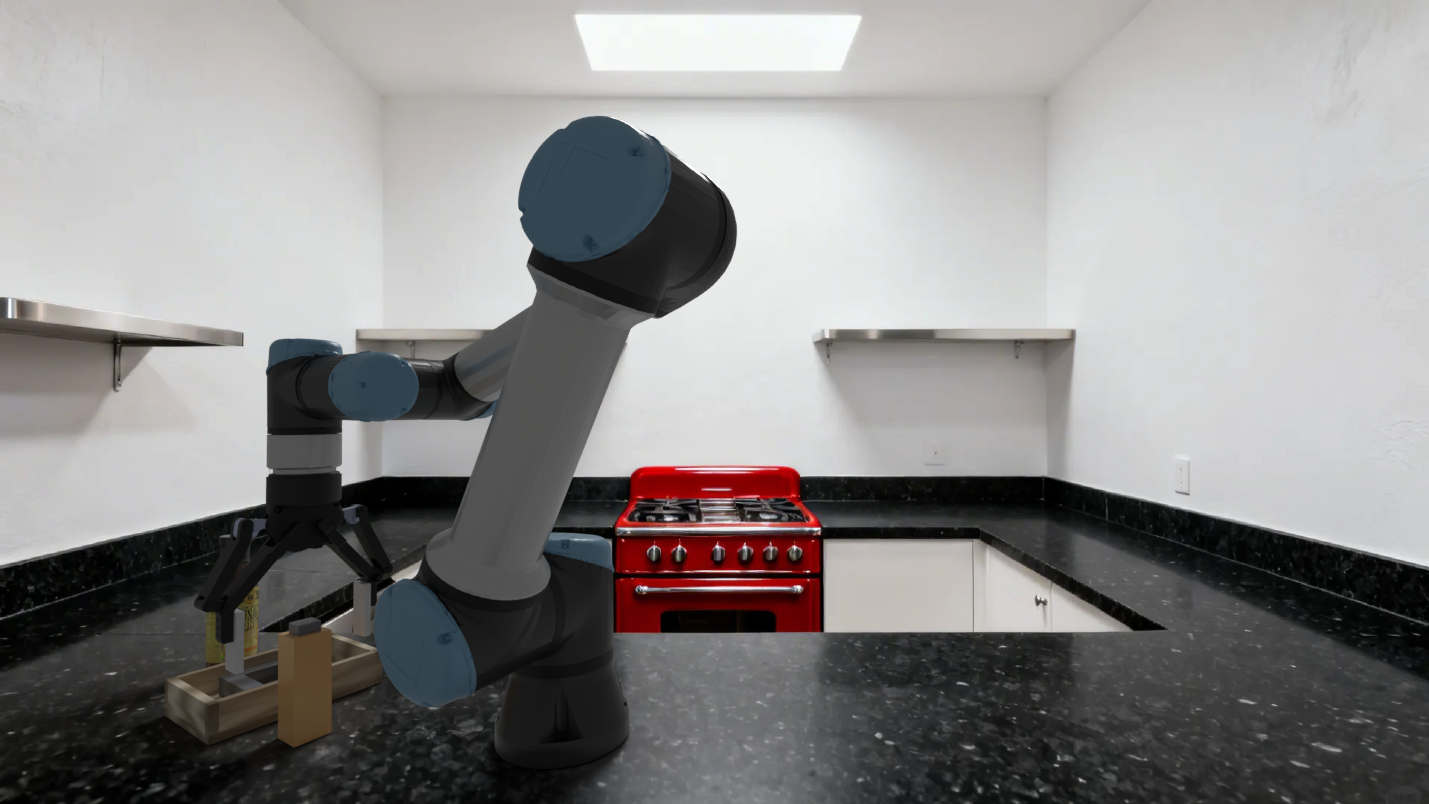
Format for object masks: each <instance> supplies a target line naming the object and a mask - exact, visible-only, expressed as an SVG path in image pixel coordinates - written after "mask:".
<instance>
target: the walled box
mask: <svg viewBox="0 0 1429 804" xmlns="http://www.w3.org/2000/svg"><path fill="white" fill-rule="evenodd" d="M381 682H382V683H383V666H382V663H381V660H380V657H379V654H378V651H377V648H376V647H374V646H371V645H369V644H366V643H364V642H360V641H357V640H355V639H352V638H348V637H346V636H342V635H340V634H337V633H334V632H332V701H335V700H338V699H340V698H342V697H346V696H348V695H351V694H353V693H357V692H360V691H363V690H365V689H367V687H368V688H370V687H372V686H373V685H374V686H376V685H379V684H382V683H381ZM375 684H376V685H375ZM164 716H165V717H166V718H168V719H169V720H171V721H172V722H174V723H175V724H176V725H178V726H180V727H181V728H182V729H184V730H185V731H186V732H188V733H190V734H191V735H193V737H195V738H197V739H198V740H200V741H201V742H203V743H205V745H207V746H211V745H213V744H217V743H218V742H221V741H224V740H227V739H230V738H233V737H235V736H238V735H241V734H243V733H246V732H249V731H252V730H255V729H258V728H260V727H263V726H265V725H269V724H272V723H275V722H278V647H276V648H272V649H270V650H266V651H262V652H258V653H256V654H254V655H251V656H247V657H244V672H243V673H239V674H236V675H235V674H233V673H232V672H230V671H228V670H226V669H225V663H222V664H218V665H215V666H211V667H207V668H200V669H197V670H194V671H191V672H187V673H183V674H180V675H176V676H172V677H169V678H164Z"/></svg>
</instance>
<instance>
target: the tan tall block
mask: <svg viewBox="0 0 1429 804" xmlns="http://www.w3.org/2000/svg"><path fill="white" fill-rule="evenodd" d="M332 633H333V632H332V629H330V628H327V627H325V626H322V620H321V619H318V618H315V617H312V616H311V617H306V618H303V619H299V620H298V619H297V620H294V621H291V622H289V623H288V631H283V632H280V633H278V635H277V637H278V638H277V648H278V720H277V739H278V740H280V741H282V742H283V743H285V744H287V745H289V746H291V747H292V748H297V747H299V746H301V745H302V746H303V745H304V744H306V743H309V742H312V741H314V740H317V739H319V738H321V737H323V736H326V735H329V734H331V733H333V731H332V723H333V722H332V721H333V720H332V719H333V717H332V716H333V715H332V714H333V713H332V712H333V710H332V706H333V704H332V702H333V700H332Z"/></svg>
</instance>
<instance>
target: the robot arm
mask: <svg viewBox="0 0 1429 804" xmlns="http://www.w3.org/2000/svg"><path fill="white" fill-rule="evenodd" d="M518 189H519V190H518V197H517V199H518V200H517V207H518V210H519V212H521V213H522V216H520V217H519V221H520V224H521V228H522V230H523V233H524V234H525V236H526V238H527V239H528V240H529V242H530V243H531V245H532V248H531V250H530V253H529V255H528V259H527V262H526V268H527V271H528V272H529V275H530V276H531V279H532V281H533V283H534V285H535V289H536V292H535V295H534V299H533V301H532V303H531V305H530V306H528V307H526V308H524V309H523V310H522V311H520V312H519V313H517V314H516V315H514V316H512V317H510V318H509V319H508V320H506V321H505V322H503V323H502V324H500V325H498V326H497V327H495V328H494V329H493V330H490V331H489V332H487V333H486V334H484V335H482V336H481V337H480V338H478V339H477V340H475V341H473V342H472V343H471V344H468V345H467V346H466V347H464V348H463V349H461V350H459V351H458V352H456V353H454V354H452V355H451V356H450V357H448V358H446V359H441V360H440V359H427V358H413V357H405V356H400V355H398V354H395V353H392V352H386V351H371V350H364V351H363V350H362V351H359V352H355V353H354V352H353V353H347V354H346V353H345V354H344V351H343V347H342V345H341V344H340V343H339V342H336V341H332V340H327V339H326V340H325V339H318V338H316V339H315V338H302V337H301V338H300V337H299V338H279V339H275V340H274V341H272V343H270V345H269V347H268V348H269V349H268V361H267V366H266V369H265V375H266V428H267V430H266V432H267V433H266V468H267V469H269V470H272V473H269V474H267V475H268V476H266V477H265V508H266V509H265V513H264V516H263V518H250V519H249V518H245V517H236V518H234V519H233V520H232V521H231V526H230V534H229V535H230V539H229V540H228V542H227V544H226V546H225V548H224V549H223V551H222V553H221V555H220V554H219V557H218V558H217V560H216V562H215V564H214V565H213V567H212V569H211V570H210V573H209V574H208V576H207V577H206V580H205V582H203V583H204V584H203V585H202V587H201V588H200V590H199V592H198V594H197V596H196V597H195V599H194V601H193V607H194V608H195V609H198V610H199V611H202V612H204V613H207V612H214V613H215V615H216V626H215V628H216V629H215V632H216V633H215V638H216V640H217V642H219V643H221V644H226V648H225V669H226V670H228V671H230V672H232V673H233V674H235V675H236V674H239V673H243V672H244V615H245V612H244V611H241V610H239V609H237V608H238V606H239V605H240V604H241V603H242V602H243V600H244V599H245V598H246V597H247V596H248V594H249V593H250V592H251V591H252V589H253V588H254V587H255V586H256V585H257V584H258V583H259V582H260V581H261V580H262V579H263V577H264V576H265V575H266V574H267V573H268V571H269V570H271V568H272V566H274V564H275V563H276V562H277V561H278V560H280V559H282V558H283V557H284V555H285V554H286V553H287V552H290V553H300V552H302V551H305V550H307V549H308V550H309V549H312V550H317V549H322V548H323V547H324V546H325V547H328V548H329V549H330V550H331V551H332V552H333V553H334V554H335V555H336V556H337V557H339V558H340V559H341V560H342V561H343V562H344V563H345V565H347V566H348V567H349V568H350V569H351V570H352V571H353V572H354V573H355V574H356V575H357V576H359V578H361V580H354V581H353V605H352V606H353V608H352V611H353V613H352V614H353V616H352V624H353V625H352V627H353V628H352V629H353V630H352V633H353V634H355V635H358V636H361V637H364V638H365V637H369V636H371V625H372V624H371V622H372V621H371V619H372V618H371V616H372V615H371V614H372V613H371V612H372V611H371V610H372V607H374V606H375V609H374V616H373V636H374V643H375V646H376V647H375V648H377V651H378V654H379V657H380V660H381V663H382V669H383V670H384V672H385V674H386V676H387V677H388V679H389V681H390V682H391V683H392V685H393V687H394V688H396V690H397V691H398V693H400V694H401V695H402V696H403V697H404V698H406V699H407V700H408V701H410V702H412V703H413V704H416V705H417V706H419V707H422V708H423V707H424V708H438V707H441V706H445V705H447V704H449V703H452V702H455V701H457V700H460V699H462V700H463V699H466V698H469V697H470V696H471V695H473V694H474V693H476V692H478V691H479V690H481V689H484V688H485V687H487V686H490V685H492V684H494V683H496V682H497V681H499V680H501V679H503V678H505V677H507V676H509V677H508V681H507V684H506V688H505V691H504V696H503V699H502V703H501V707H500V711H499V712H498V714H497V717H496V719H495V723H494V750H495V752H496V754H497V755H498V757H500V758H501V759H502V760H503V761H505V762H507V763H510V764H511V765H514V766H518V767H521V768H526V769H535V770H536V769H537V770H552V769H562V768H569V767H574V766H579V765H583V764H587V763H589V762H592V761H594V760H597V759H600V758H601V757H604V756H605V755H607V754H609V753H610V752H612V751H614V750H616V749H617V748H618V747H619V746H620V745H622V744H623V742H625V740H626V739H627V737H628V735H629V732H630V728H631V727H630V707H629V703H628V701H627V699H626V697H625V696H624V691H623V687H622V684H621V683H622V682H621V680H620V678H619V674H618V671H617V669H616V665H615V660H614V659H615V657H614V573H615V566H614V565H613V555H612V553H613V552H612V546H611V544H610V542H609V541H608V540H607V539H606V538H604V537H602V536H600V535H596V534H587V533H576V532H575V533H574V532H552V531H553V528H554V526H555V523H556V520H557V519H558V516H559V513H560V510H561V508H562V506H563V503H564V500H565V498H566V495H567V493H568V490H569V488H570V485H571V483H572V480H573V477H574V476H575V472H576V471H577V470H576V469H577V467H578V465H579V462H580V460H581V457H582V455H583V452H584V449H585V447H586V445H587V441H588V439H589V438H590V434H591V432H592V429H593V426H594V424H595V421H596V419H597V416H598V413H599V411H600V408H601V406H602V403H603V401H604V399H605V396H606V394H607V392H608V391H607V390H608V388H609V386H610V383H611V380H612V378H613V375H614V373H615V370H616V368H617V366H618V363H619V360H620V357H621V355H622V353H623V351H624V347H625V345H626V342H627V340H628V337H629V334H630V332H631V330H632V329H633V328H634V327H635V326H636V325H638V324H640V323H641V324H642V323H643V322H645V321H648V320H650V319H656V320H659V319H663V317H665V316H668V315H669V314H671V313H673V312H675V311H676V310H679V309H680V308H682V307H684V306H686V305H687V304H689V303H690V302H692V301H693V300H695V299H697V298H699V297H700V296H702V295H703V294H704V293H706V292H707V291H708V290H710V288H712V287H713V286H714V285H715V284H716V283H717V282H718V281H719V280H720V279H721V278H722V276H723V275H724V274H725V272H726V271H727V269H728V268H729V266H730V263H731V262H732V259H733V256H734V254H735V250H736V247H737V239H738V238H737V237H738V224H737V220H736V216H735V211H734V208H733V205H732V204H731V201H730V200H729V198H728V196H727V195H726V193H725V191H724V190H723V189H722V188H721V187H720V186H719V184H717V183H716V181H714V180H713V179H711V177H709V176H708V175H706V174H705V173H703V172H700V171H699V170H698V169H696V168H695V167H693V166H692V165H691V164H689V163H688V162H686V160H684V159H683V158H681V156H679V155H678V154H676V153H675V152H674V151H672V150H671V149H670V148H668V147H667V146H665V145H664V144H663V143H662V142H661V141H660V140H659V139H658V138H656V137H655V136H654V135H652V134H650V133H649V134H648V133H646V132H645V131H644V130H641V129H639V128H637V127H635V126H633V125H631V124H629V123H628V122H626V121H624V120H621V119H618V118H616V117H613V116H608V115H607V116H606V115H591V116H585V117H581V118H577V119H575V120H572V121H570V122H569V123H568V125H567V126H566V127H565V128H558V129H556V130H555V131H554V132H553V133H551V134H550V135H549V136H548V137H547V138H546V139H545V140H544V141H543V142H542V143H541V144H540V146H539V147H538V148H537V149H536V150H535V152H534V154H533V155H532V157H531V159H530V161H529V162H528V164H527V165H526V168H525V169H524V173H523V174H522V179H521V182H520V186H519V188H518ZM489 417H491V418H490V422H489V424H488V427H487V430H486V433H485V435H484V438H483V441H482V444H481V446H480V449H479V452H478V455H477V457H476V460H475V463H474V466H473V469H472V471H471V475H470V477H469V480H468V482H467V485H466V488H465V491H464V494H463V497H462V499H461V502H460V505H459V508H458V511H457V513H456V516H455V518H454V521H453V522H454V523H453V524H452V527H450V528H447V529H445V530H443V531H440V532H438V533H437V534H435V535H434V536H433V537H432V538H431V539H430V540H429V542H428V543H427V546H426V548H425V552H424V555H423V558H422V559H421V562H420V565H419V569H418V570H417V571H418V572H416V575H415V576H413V577H412V578H402V579H400V580H398V581H397V582H395V584H394V583H393V584H392V585H389V586H388V587H387V588H386V589H384V591H383V592H382V593H381V594H380V596H379V597H378V583H380V582H381V581H382V580H383V576H384V575H386V574H390V573H392V571H394V570H393V569H394V566H393V564H392V562H391V560H390V559H389V556H388V554H387V553H386V550H385V549H384V547H383V545H382V543H381V541H380V539H379V538H378V536H377V534H376V532H375V529H373V526H372V525H371V522H370V516H369V515H370V514H369V508H368V507H367V506H366V505H363V504H356V503H353V504H350V505H349V506H348V507H342V506H341V505H342V504H341V501H342V494H343V492H342V491H343V487H342V485H343V484H342V483H343V478H342V477H343V473H341V472H340V470H337V468H338V467H340V466H342V464H343V421H350V422H351V421H352V422H353V421H354V422H356V421H357V422H363V423H372V422H376V423H377V422H386V421H421V420H423V421H461V422H462V421H463V422H469V421H473V420H477V419H479V420H480V419H481V420H482V419H487V418H489ZM344 519H345V522H346V523H347V524H350V526H351V529H352V531H353V533H354V534H355V536H356V538H357V540H358V542H359V544H360V546H361V548H362V549H363V551H364V554H365V555H366V556H367V559H368V560H369V562H370V563H369V562H368V561H367V560H366V559H365V558H364V557H363V556H362V555H360V553H359V552H358V551H357V550H356V549H355V548H354V547H352V545H350V543H349V542H348V540H347V539H346V537H344V536H343V535H342V534H341V533H340V532H339V531H338V528H339V527H340V526H341V524H342V523H343V521H344ZM261 530H263V531H264V533H265V534H266V535H267V537H268V538H267V539H266V540H265V541H264V542H263V543H262V545H261V546H260V547H259V548H258V551H257V553H256V554H255V555H254V557H252V559H251V561H250V562H249V564H248V565H247V566H246V567H245V568H244V569H243V571H242V572H241V573H240V574H239V575H238V576H237V578H236V579H235V580H234V581H233V582H232V583H231V585H230V586H229V587H228V588H227V586H228V584H229V582H230V580H231V579H232V577H233V575H234V573H235V571H236V569H237V568H238V566H239V564H240V562H241V560H242V558H243V557H244V555H245V553H246V551H247V549H248V547H249V545H250V543H251V539H252V540H253V539H255V538H257V536H258V534H259V532H260V531H261ZM251 544H252V543H251ZM250 546H251V545H250ZM226 588H227V589H226ZM224 591H225V592H224Z"/></svg>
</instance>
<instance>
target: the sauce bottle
mask: <svg viewBox="0 0 1429 804" xmlns="http://www.w3.org/2000/svg"><path fill="white" fill-rule="evenodd" d="M229 539H230V534H224V535H220V536H219V537H218V546H219V556H220V555H221V553H222V551H223V549H224V548H225V546H226V544H227V542H228V540H229ZM252 542H253V539H251V543H250V545H249V547H248V549H247V551H246V553H245V555H244V557H243V558H242V560H241V562H240V564H239V566H238V568H237V569H236V571H235V573H234V575H233V577H232V579H231V580H230V582H229V584H228V586H227V588H228V587H229V586H230V585H231V583H232V582H233V581H234V580H235V579H236V578H237V576H238V575H239V574H240V573H241V572H242V571H243V569H244V568H245V567H246V566H247V565H248V564H249V562H250V561H251V560H252V559H251V545H252ZM227 588H226V589H227ZM224 592H225V591H224ZM259 599H260V586H259V584H258V583H257V585H256V586H255V587H254V588H253V589H252V591H251V592H250V593H249V594H248V596H247V597H246V598H245V599H244V600H243V602H242V603H241V604H240V605H239V606H238V608H237V609H239V610H241V611H244V612H245V615H244V657H247V656H251V655H254V654H258V653H257V652H258V636H259V635H258V633H259V632H258V631H259V630H258V629H259V605H260V604H259V602H260V601H259ZM205 625H206V626H205V644H204V661H205V666H204V667H205V668H207V667H211V666H215V665H218V664H222V663H225V648H226V644H221V643H219V642H217V640H216V638H215V633H216V632H215V629H216V628H215V626H216V615H215V613H214V612H206V623H205Z"/></svg>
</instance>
